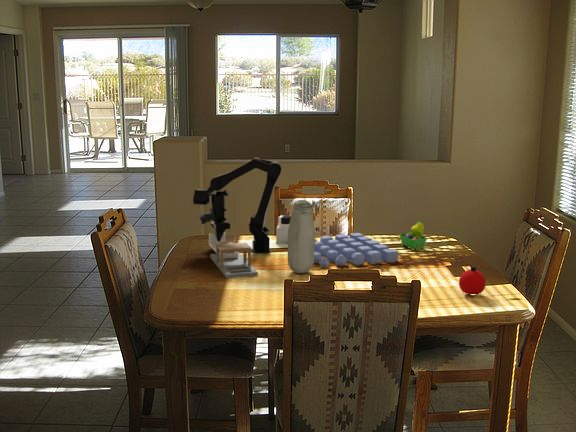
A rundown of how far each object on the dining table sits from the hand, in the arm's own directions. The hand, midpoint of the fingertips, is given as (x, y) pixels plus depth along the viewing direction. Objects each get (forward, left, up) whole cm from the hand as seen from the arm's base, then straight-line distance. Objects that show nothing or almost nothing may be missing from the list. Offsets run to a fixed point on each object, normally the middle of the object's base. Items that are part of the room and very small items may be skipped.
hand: (218, 241), depth 285 cm
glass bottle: (-23, +41, -4) cm, 48 cm away
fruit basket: (-84, +18, -4) cm, 86 cm away
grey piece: (0, +27, -4) cm, 28 cm away
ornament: (-71, +83, -4) cm, 110 cm away
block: (0, +17, -1) cm, 17 cm away
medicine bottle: (-32, -7, -4) cm, 33 cm away
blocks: (-48, +21, -5) cm, 53 cm away
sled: (0, +9, -2) cm, 9 cm away
